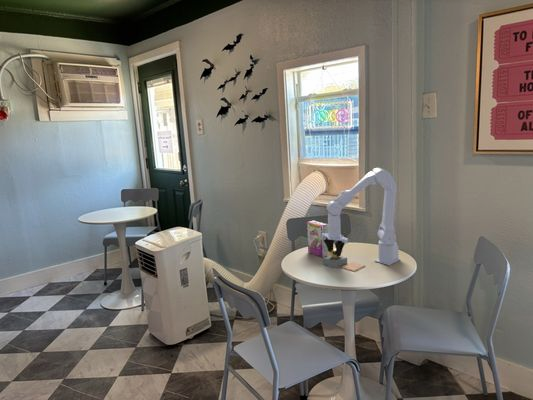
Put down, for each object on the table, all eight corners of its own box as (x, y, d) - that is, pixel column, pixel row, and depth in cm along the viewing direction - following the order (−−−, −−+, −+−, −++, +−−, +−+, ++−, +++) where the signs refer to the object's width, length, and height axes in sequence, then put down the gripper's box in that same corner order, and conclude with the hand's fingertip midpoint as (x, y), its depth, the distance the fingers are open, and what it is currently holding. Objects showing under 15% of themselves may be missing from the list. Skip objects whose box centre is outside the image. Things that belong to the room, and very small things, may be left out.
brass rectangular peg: (338, 260, 186) (338, 247, 185) (342, 262, 185) (342, 248, 183) (327, 265, 181) (327, 251, 180) (331, 266, 180) (331, 252, 178)
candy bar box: (307, 252, 201) (306, 221, 197) (314, 250, 203) (313, 220, 200) (322, 258, 192) (321, 226, 188) (329, 255, 194) (328, 224, 191)
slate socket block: (334, 259, 189) (333, 253, 188) (347, 263, 183) (347, 257, 182) (323, 264, 184) (322, 258, 183) (336, 268, 178) (336, 262, 177)
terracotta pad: (352, 263, 183) (352, 262, 183) (365, 266, 177) (365, 265, 177) (341, 267, 178) (341, 266, 178) (354, 271, 172) (354, 270, 172)
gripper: (316, 226, 182) (317, 253, 185) (341, 231, 171) (341, 260, 174) (326, 223, 187) (327, 249, 189) (351, 228, 176) (351, 256, 179)
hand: (334, 254), depth 182 cm, fingers open, 4 cm apart
